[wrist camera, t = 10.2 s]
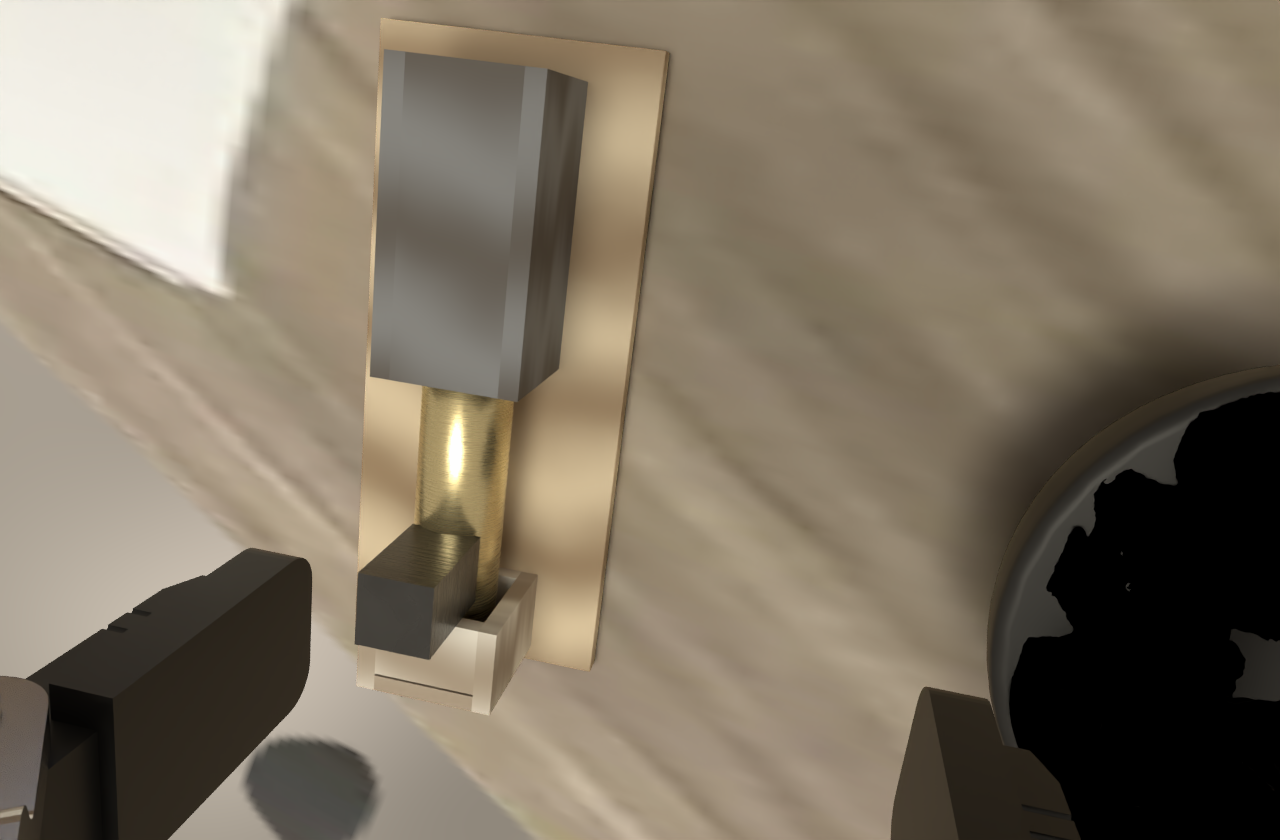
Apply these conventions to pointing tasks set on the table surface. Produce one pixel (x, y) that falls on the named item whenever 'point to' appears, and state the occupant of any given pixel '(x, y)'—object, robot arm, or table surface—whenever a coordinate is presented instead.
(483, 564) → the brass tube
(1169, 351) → the table surface
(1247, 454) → the coal bowl
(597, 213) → the tube stand
